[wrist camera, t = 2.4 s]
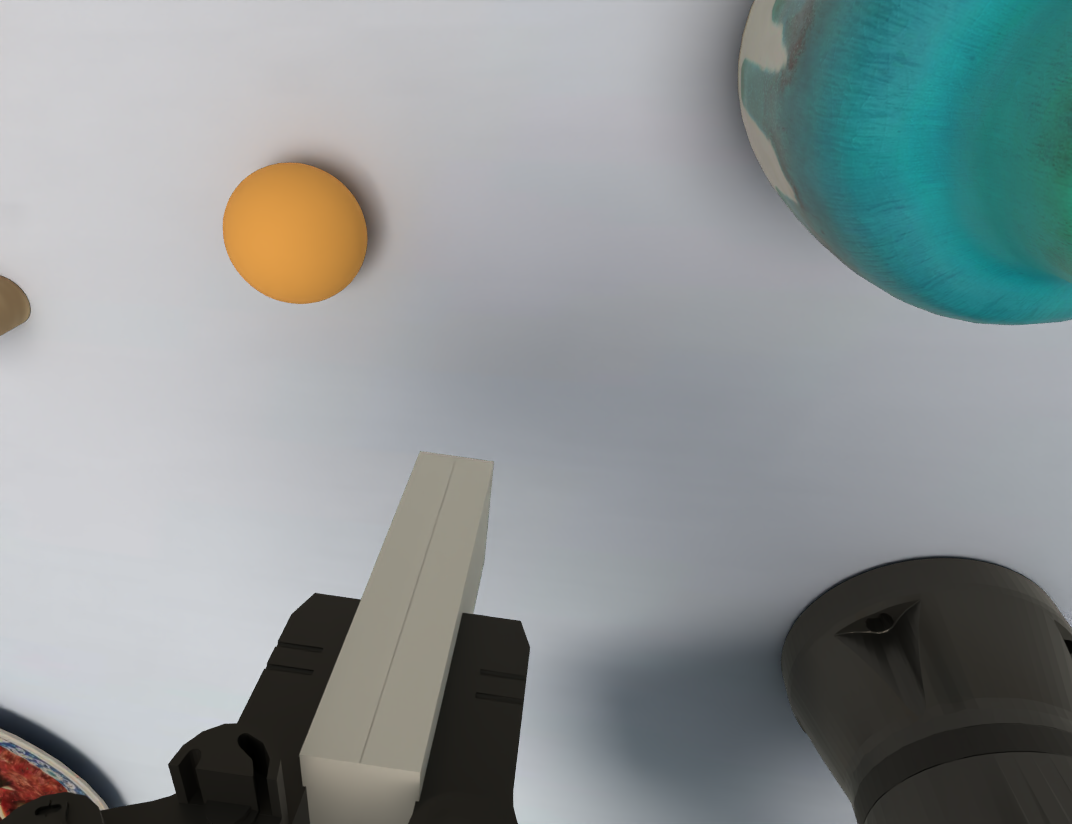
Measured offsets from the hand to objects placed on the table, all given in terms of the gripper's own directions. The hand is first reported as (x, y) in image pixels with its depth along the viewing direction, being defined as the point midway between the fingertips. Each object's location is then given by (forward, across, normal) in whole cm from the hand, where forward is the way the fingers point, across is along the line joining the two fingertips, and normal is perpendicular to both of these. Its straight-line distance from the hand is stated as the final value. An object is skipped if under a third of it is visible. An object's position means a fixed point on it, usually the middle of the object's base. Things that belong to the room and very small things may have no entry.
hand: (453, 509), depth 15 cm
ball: (+16, +9, 0) cm, 18 cm away
